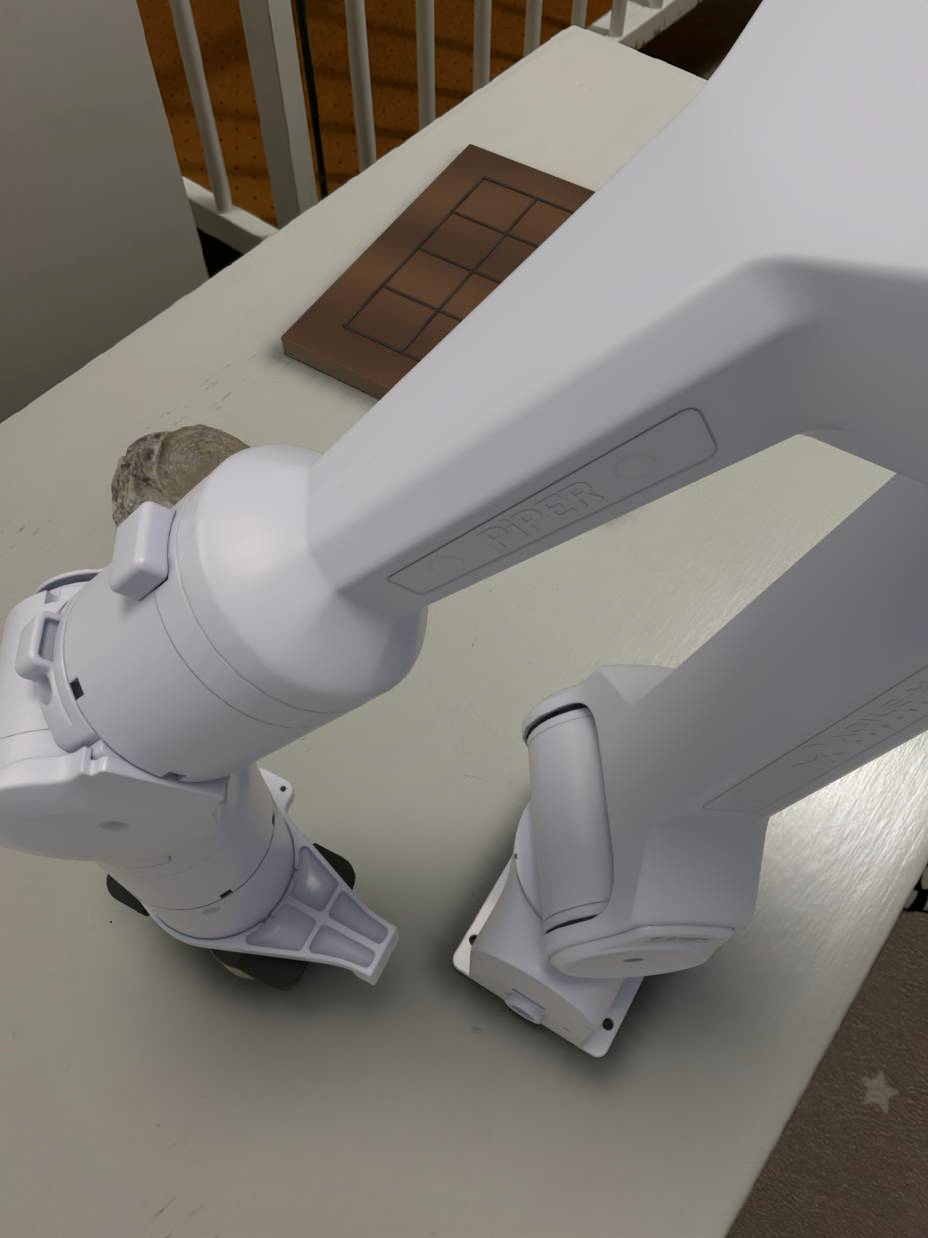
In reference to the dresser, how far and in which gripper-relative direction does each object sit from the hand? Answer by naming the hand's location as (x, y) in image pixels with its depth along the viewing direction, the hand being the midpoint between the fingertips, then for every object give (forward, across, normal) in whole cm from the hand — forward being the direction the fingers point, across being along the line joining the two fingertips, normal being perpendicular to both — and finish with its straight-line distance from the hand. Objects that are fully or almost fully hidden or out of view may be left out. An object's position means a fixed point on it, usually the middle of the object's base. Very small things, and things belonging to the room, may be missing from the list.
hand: (261, 917), depth 45 cm
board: (+1, +6, -43) cm, 44 cm away
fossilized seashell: (+2, +16, -18) cm, 24 cm away
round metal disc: (+1, 0, +1) cm, 2 cm away
